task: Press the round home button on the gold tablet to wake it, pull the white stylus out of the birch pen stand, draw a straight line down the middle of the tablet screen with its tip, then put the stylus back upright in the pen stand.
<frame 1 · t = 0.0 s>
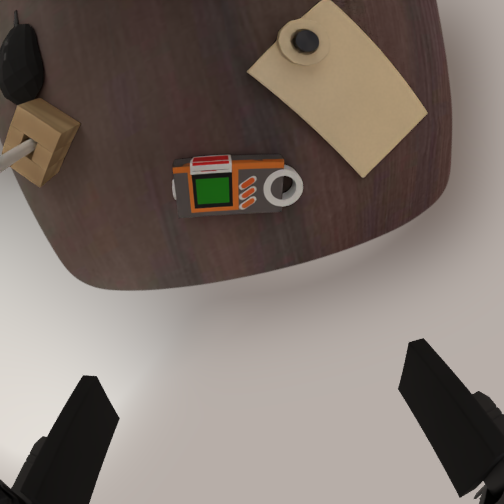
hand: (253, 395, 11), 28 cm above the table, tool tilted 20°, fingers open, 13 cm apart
electronic device: (237, 180, 35), on the table
stylus: (12, 156, 21), in the pen stand
tablet: (346, 88, 28), on the table
pen stand: (48, 135, 28), on the table
home button: (305, 41, 23), point 3 cm above the table, slide at 0.2 cm
gaming mouse: (23, 53, 21), on the table
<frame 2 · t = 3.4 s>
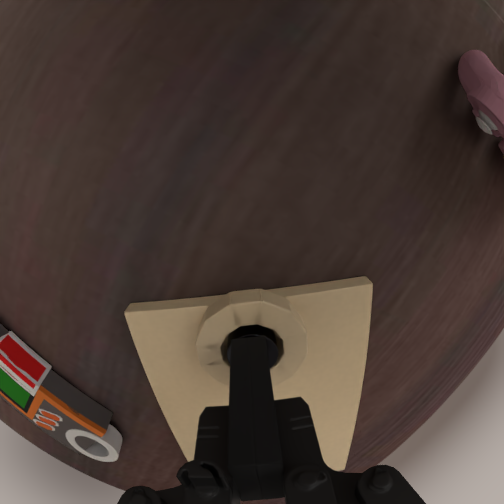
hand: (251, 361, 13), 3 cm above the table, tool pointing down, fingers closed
electronic device: (50, 389, 18), on the table
tablet: (263, 412, 18), on the table
video game controller: (490, 128, 13), on the table
home button: (252, 347, 14), point 2 cm above the table, slide at -0.5 cm, touching gripper
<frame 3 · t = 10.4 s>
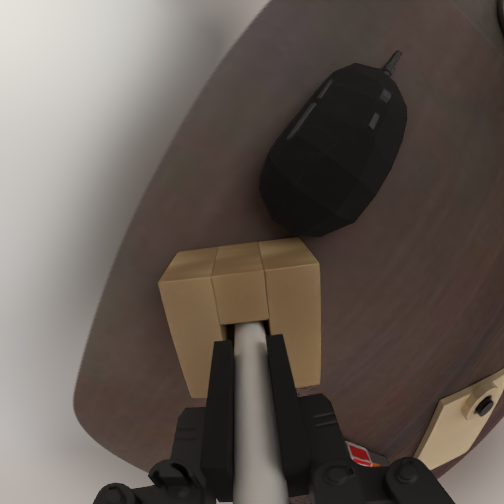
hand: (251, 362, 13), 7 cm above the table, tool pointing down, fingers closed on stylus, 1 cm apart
electronic device: (344, 462, 27), on the table
stylus: (253, 384, 11), in the pen stand, touching gripper
tablet: (455, 428, 27), on the table
pen stand: (245, 299, 19), on the table
home button: (484, 406, 22), point 3 cm above the table, slide at 0.1 cm
gaming mouse: (347, 127, 16), on the table
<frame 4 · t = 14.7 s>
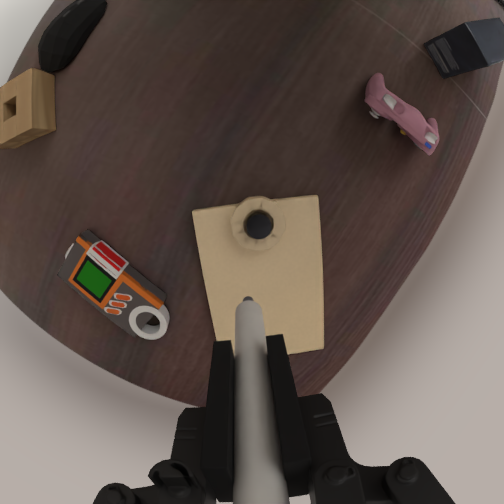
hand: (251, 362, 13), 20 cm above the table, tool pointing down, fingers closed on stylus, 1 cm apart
electronic device: (120, 285, 33), on the table
stylus: (253, 385, 11), point 21 cm above the table, touching gripper
tablet: (264, 284, 33), on the table
video game controller: (393, 116, 28), on the table
pen stand: (33, 112, 25), on the table
box: (451, 55, 25), on the table
home button: (258, 225, 28), point 3 cm above the table, slide at 0.1 cm
gaming mouse: (81, 23, 23), on the table
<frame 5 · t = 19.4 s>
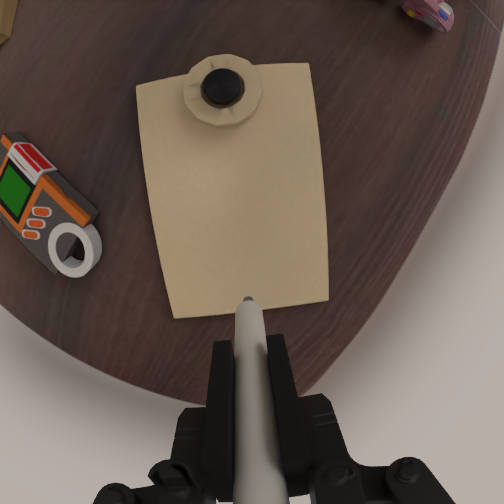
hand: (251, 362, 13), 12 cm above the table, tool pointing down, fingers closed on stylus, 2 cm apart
electronic device: (47, 204, 21), on the table
stylus: (253, 385, 11), point 13 cm above the table, touching gripper
tablet: (235, 191, 22), on the table
video game controller: (395, 1, 17), on the table
home button: (222, 86, 17), point 3 cm above the table, slide at 0.1 cm
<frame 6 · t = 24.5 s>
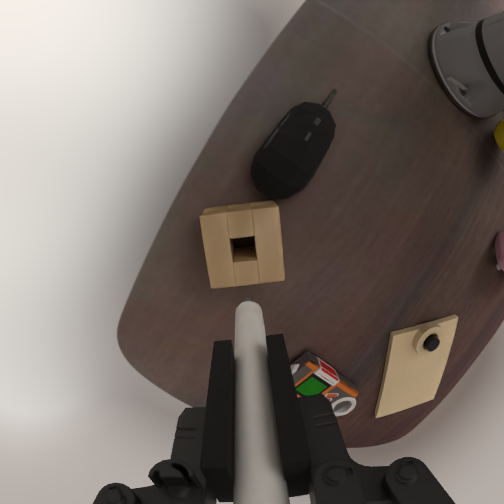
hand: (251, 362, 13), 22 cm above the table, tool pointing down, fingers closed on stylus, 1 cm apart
electronic device: (320, 383, 41), on the table
stylus: (253, 385, 11), point 23 cm above the table, touching gripper
tablet: (414, 369, 41), on the table
video game controller: (500, 256, 36), on the table
pen stand: (243, 236, 33), on the table
home button: (431, 342, 36), point 3 cm above the table, slide at 0.1 cm
gaming mouse: (300, 139, 31), on the table
fruit: (494, 136, 30), on the table
when the fingers open (6 cm above the table, at t = 28.7 s): stylus stays where it is, resting in pen stand.
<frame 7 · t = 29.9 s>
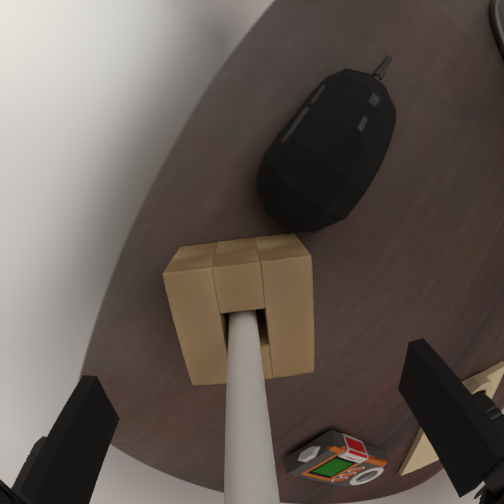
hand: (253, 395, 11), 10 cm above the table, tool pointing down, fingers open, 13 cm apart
electronic device: (341, 455, 28), on the table
stylus: (244, 366, 13), in the pen stand
tablet: (451, 423, 28), on the table
pen stand: (243, 292, 20), on the table
home button: (478, 400, 23), point 3 cm above the table, slide at 0.1 cm
gaming mouse: (339, 130, 18), on the table
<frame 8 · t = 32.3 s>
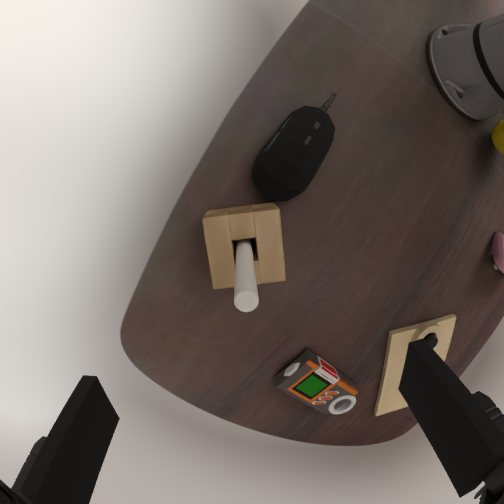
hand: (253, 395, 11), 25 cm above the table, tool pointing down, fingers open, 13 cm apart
electronic device: (320, 382, 42), on the table
stylus: (244, 261, 27), in the pen stand
tablet: (413, 367, 42), on the table
video game controller: (498, 256, 37), on the table
pen stand: (244, 238, 34), on the table
home button: (430, 341, 37), point 3 cm above the table, slide at 0.1 cm
gaming mouse: (300, 142, 31), on the table
fruit: (491, 138, 31), on the table
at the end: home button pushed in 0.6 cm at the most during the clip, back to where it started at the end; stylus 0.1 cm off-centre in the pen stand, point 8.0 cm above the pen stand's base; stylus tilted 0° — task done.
